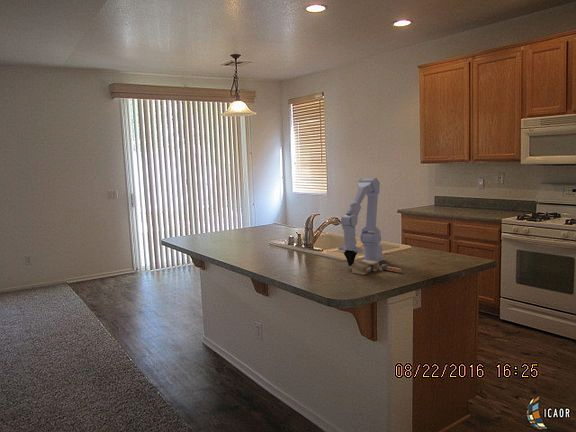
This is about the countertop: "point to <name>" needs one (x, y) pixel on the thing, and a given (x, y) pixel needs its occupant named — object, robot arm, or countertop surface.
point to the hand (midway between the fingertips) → (350, 265)
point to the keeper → (391, 268)
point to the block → (365, 266)
